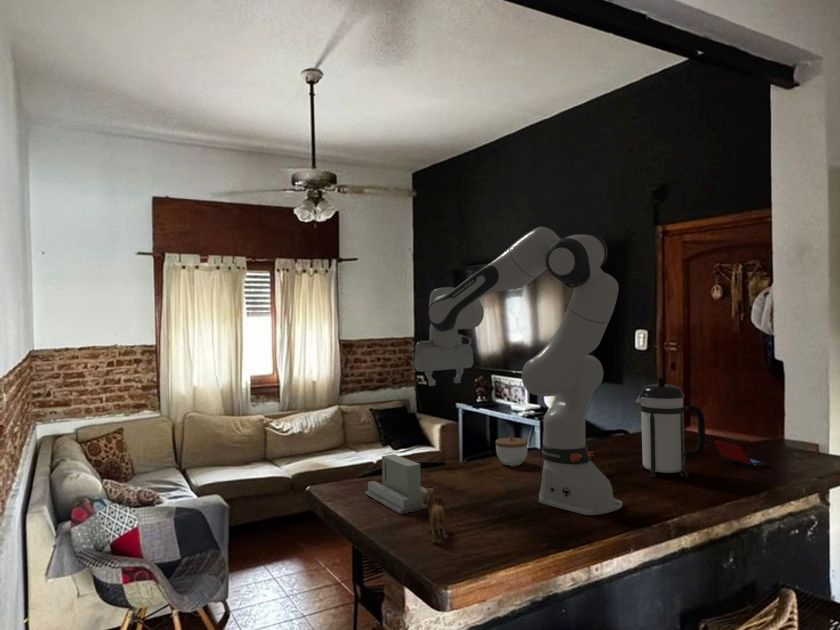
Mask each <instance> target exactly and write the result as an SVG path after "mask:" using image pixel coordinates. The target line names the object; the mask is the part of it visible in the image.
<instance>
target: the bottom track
mask: <svg viewBox="0 0 840 630" xmlns="http://www.w3.org/2000/svg"><path fill="white" fill-rule="evenodd" d="M367 487H368V488H367V490H366V491H364V494H367V495H368V496H370V497H372V498H374V499H375V500H377V501H379V502H381V503H382V504H384V505H386V506H387V507H389V508H391V509H392V511H393V510H394V511H393V512H395V511H396V512H398V513H400V514H402V515H404V514H403V513H406V514H409V513H408V512H411V513H414V511H415V512H418V510H419V511H422V510H421V509H424V510H426V509H425V508H427V504H425V505H424V504H423V502H422V501H421V502H418V503H413V504H410V498H408V497H406V496H404V495H402V494H400V493H398V492H396V491H394V490H392V489H390V488H387V487H385V486H383V484H381V483H379V482H377V481H376V480H373V481H368V482H367ZM427 489H428V488H426V487H424V486H421V497H422V496H423V495H425V493H427ZM368 496H367V497H368ZM375 500H374V501H375ZM377 501H376V502H377ZM382 504H381V505H382ZM384 505H383V506H384ZM386 506H385V507H386ZM387 507H386V508H387ZM389 508H388V509H389ZM391 509H390V510H391ZM396 512H395V513H396ZM398 513H397V514H398ZM400 514H399V515H400Z"/></svg>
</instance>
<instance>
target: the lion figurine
mask: <svg viewBox="0 0 840 630" xmlns="http://www.w3.org/2000/svg"><path fill="white" fill-rule="evenodd" d="M426 489H427V493H425V495H423V496H422V497H421V498H420V499H421V501H422V502H423V504H424V505H425V504H427V508H428V513H429V514H428V515H429V518H428V519H429V524H430V525H429V527H428V530H429V531H431V536H432V539H431V543H432V544H433V543H436V542H437V535H436V534H438V537H439V539H440V541H441V543H443V544H446V540H445V539H447V538H449V535H448V534H447V533H446V530H447V529H446V528H447V527H446V525H447V523H446V522H447V521H446V514H445V508H446V507H445V506H446V505H445V500H444V499H443V497H442V494H441V493H440V492H439V490H438V489H436V488H434V487H430V488H426ZM440 529H441V530H442V531H441V530H440ZM436 530H437V533H436ZM441 532H442V534H441ZM444 538H445V539H444Z"/></svg>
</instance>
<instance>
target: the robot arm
mask: <svg viewBox="0 0 840 630" xmlns="http://www.w3.org/2000/svg"><path fill="white" fill-rule="evenodd" d="M608 254H609V253H608V246H607V243H605V241H604V240H603V239H602V238H601V237H600V236H597V234H592V233H581V234H580V233H579V234H572V235H569V236H566V237H563V238H560V237H559V235H557V234H556V232H555V231H553V230H552V229H551V228H549V227H545V226H538V227H536V228H534V229H532V230H530V231H529V232H526V234H524V235H523V236H521V237H520V238H519V239H517V241H515V242H514V243H513V244H511V245H510V246H509V247H508V248H507V249H506V250H505V251H504V252H502V253H501V254H500V255H499V256H498V257H496V258H495V259H494V260H492V261H491V262H490V263H488V264H487V265H485V266H483V267H482V268H481V269H479V270H478V271H476V272H475V273H473V274H471V275H470V276H469V277H468V278H466V279H465V280H464V281H463V282H461V283H460V284H459V285H458V286H456V287H455V288H454V287H452V286H443V287H438V288H435V289H433V290H432V291H431V293H430V296H429V302H428V303H429V304H428V312H427V313H428V314H427V316H428V320H429V323H430V326H429V331H428V332H429V340H419V341H418V342H417V343H416V344H415V346H414V352H415V354H414V362H413V363H414V364H413V366H414V369H415V371H417V372H421V373H422V372H424V375H425V377H426V379H427V380H428V383H427V385H428V386H429V387H430V386H431V387H433V386H434V387H435V386H436V379H434V378H433V376H432V375H433V372H434V371H435V372H436V371H444V370H445V371H446V370H455V372H456V375H455V377H453V383H454V384H461V380H462V379H461V378H462V375H463V374H464V369H470V368H472V367H473V366H474V350H473V348H472V347H473V346H471V345H472V338H471V337H469V336H467V335H463V334H461V333H459V330H470V329H474V328H475V329H476V328H478V327H479V326H480V325H481V323H482V322H483V320H484V313H485V312H484V307H483V305H482V303H481V301H480V300H479V299H481V298H482V297H484V296H486V295H489V294H493V293H496V292H502V291H511V290H517V289H520V288H522V287H524V286H527V285H528V284H530V283H531V282H533V281H534V280H535V279H536V278H537V277H539V276H540V275H541V274H542V273H543V272H544V271H546V270H547V271H548V273H550V275H551V276H553V278H555V279H557V280H559V281H560V282H562V284H563V285H565V286H566V287H567V288H569V289H572V288H573V292H572V295H571V298H570V300H569V302H568V305H567V308H566V310H565V312H564V315H563V317H562V319H561V322H560V324H559V327H558V328H557V330H556V332H555V334H554V335H553V337H551V339H550V340H549V341H548V342H547V344H546V345H545V346H544V347H543V349H542V350H540V351H539V352H538V354H536V355H535V356H534V357H531V358H530V359H529V360H527V361H526V362H525V364H523V367H522V369H521V381H522V385H523V387H524V388H525V390H526V391H527V392H528V393H529V394H531V395H534V396H539V397H555V398H554V401H553V403H552V405H551V407H550V408H549V409H548V410H547V411H546V412H545V414H544V416H543V421H542V422H543V443H542V445H541V446H542V449H541V452H542V453H541V454H542V455H541V457H542V458H543V467H542V474H541V485H540V490H539V494H538V503H540V504H542V505H546V506H550V507H553V508H554V507H555V508H558V509H562V510H564V511H565V510H566V511H569V512H573V513H576V514H580V515H584V516H596V515H597V516H598V515H604V514H608V513H611V512H615V511H617V510H619V509H622V507H623V506H624V505H623V504H624V503H623V501H622V500H620V499H618V498H616V497H614V493H613V486H612V484H611V481H610V480H609V478H607V477H606V475H605V474H603V472H602V471H601V470H600V469H599V468H598V467H597V466H596V465H595V464H594V463H593V462H592V461H591V460H592V458H591V457H592V456H594V454H593V453H594V451H593V450H591V451H589V449H588V446H587V445H586V419H587V411H588V407H589V406H590V405H589V404H590V402H591V400H592V396H593V393H594V392H595V390H596V389H597V388H598V387H599V386H600V385H601V384H602V381H603V378H604V368H603V365H602V363H601V361H600V360H599V359H598V358H597V357H595V356H594V355H590V353H592V352H593V351H595V350H596V349H597V348H598V346H599V345H600V343H601V341H602V339H603V336H604V334H605V332H606V330H607V327H608V324H609V323H610V320H611V318H612V315H613V313H614V310H615V307H616V303H617V300H618V299H617V298H618V294H619V289H620V287H619V283H618V281H617V280H616V279H615V277H613V276H612V275H611V274H609V273H606V272H604V270H603V269H602V267H603V266H604V265H605V263H606V261H607V259H608Z"/></svg>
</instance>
